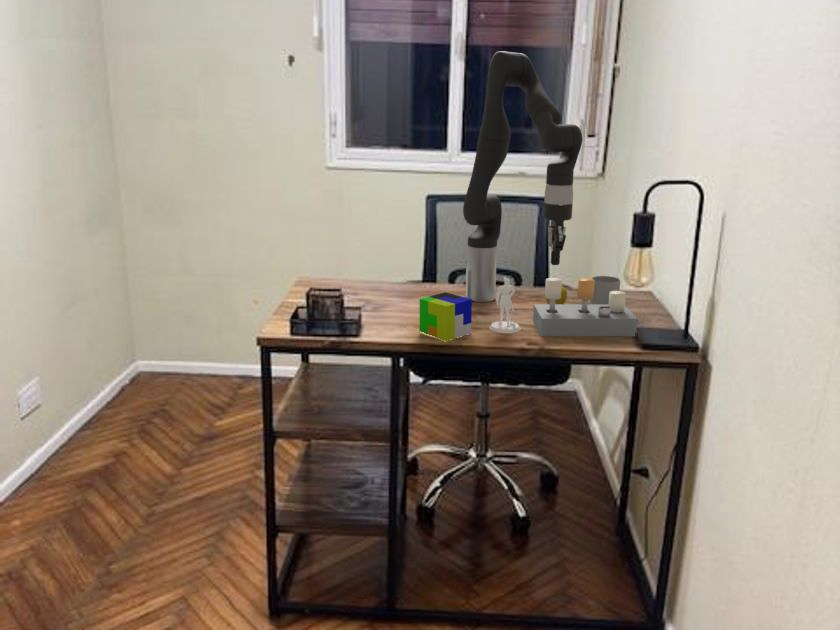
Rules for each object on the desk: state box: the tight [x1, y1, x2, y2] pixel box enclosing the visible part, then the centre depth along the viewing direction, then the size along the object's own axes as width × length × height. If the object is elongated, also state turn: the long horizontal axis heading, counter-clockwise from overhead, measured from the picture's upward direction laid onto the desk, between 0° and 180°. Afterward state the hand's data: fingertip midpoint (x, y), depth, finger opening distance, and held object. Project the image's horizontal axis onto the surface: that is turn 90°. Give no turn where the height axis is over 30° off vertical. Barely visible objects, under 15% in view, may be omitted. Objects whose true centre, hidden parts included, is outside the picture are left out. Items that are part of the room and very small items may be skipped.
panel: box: [532, 303, 638, 337], centre depth 212 cm, size 26×14×5 cm, turn 91°
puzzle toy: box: [419, 291, 473, 341], centre depth 206 cm, size 10×10×10 cm
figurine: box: [488, 276, 521, 334], centre depth 210 cm, size 9×9×15 cm
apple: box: [545, 285, 568, 304], centre depth 230 cm, size 6×6×8 cm
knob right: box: [609, 291, 627, 313], centre depth 211 cm, size 4×4×9 cm
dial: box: [598, 306, 611, 318], centre depth 206 cm, size 3×3×3 cm
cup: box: [589, 275, 621, 304], centre depth 228 cm, size 8×8×10 cm
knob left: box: [544, 277, 563, 312], centre depth 210 cm, size 4×4×9 cm
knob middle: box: [576, 277, 595, 312], centre depth 210 cm, size 4×4×9 cm
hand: (554, 264), depth 207 cm, fingers closed
